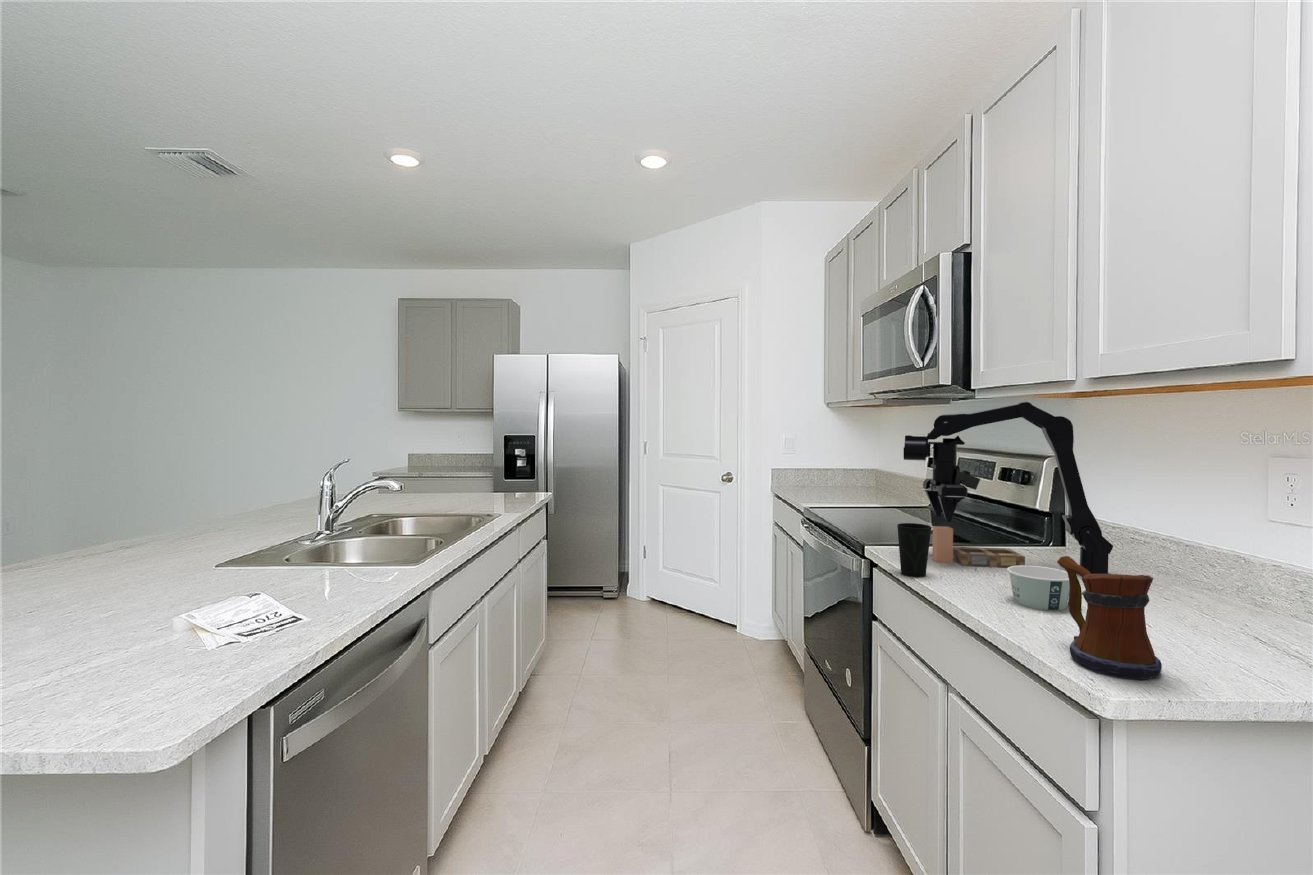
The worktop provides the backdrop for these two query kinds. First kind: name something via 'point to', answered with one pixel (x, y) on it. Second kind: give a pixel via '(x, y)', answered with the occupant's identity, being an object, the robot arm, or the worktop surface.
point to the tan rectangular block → (942, 544)
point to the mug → (1111, 623)
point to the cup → (913, 548)
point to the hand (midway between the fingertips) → (943, 519)
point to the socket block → (987, 557)
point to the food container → (1040, 587)
